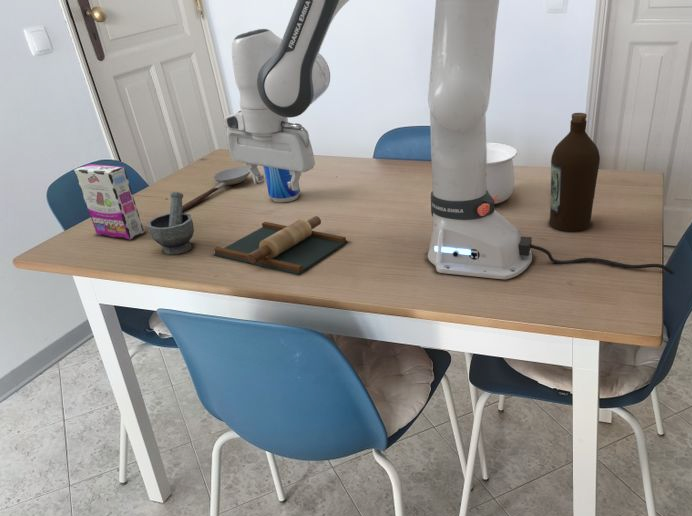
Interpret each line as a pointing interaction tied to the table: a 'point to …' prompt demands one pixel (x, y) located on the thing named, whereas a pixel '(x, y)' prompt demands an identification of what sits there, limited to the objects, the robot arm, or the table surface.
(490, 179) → the pot
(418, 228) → the table surface
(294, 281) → the table surface
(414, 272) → the table surface
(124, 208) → the candy bar box
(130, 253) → the table surface
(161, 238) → the mortar and pestle
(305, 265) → the chalkboard
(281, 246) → the rolling pin
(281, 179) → the beer can
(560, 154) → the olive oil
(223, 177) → the spoon
